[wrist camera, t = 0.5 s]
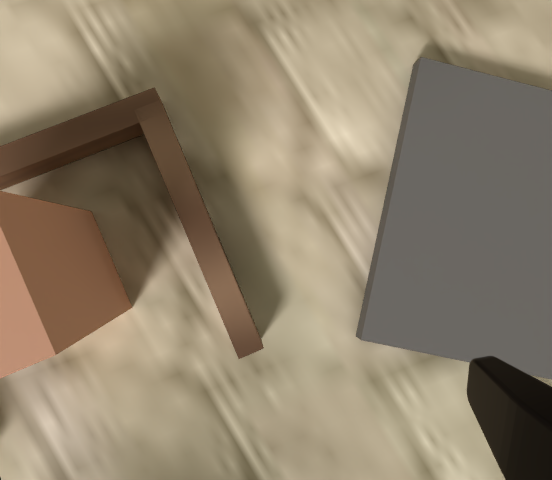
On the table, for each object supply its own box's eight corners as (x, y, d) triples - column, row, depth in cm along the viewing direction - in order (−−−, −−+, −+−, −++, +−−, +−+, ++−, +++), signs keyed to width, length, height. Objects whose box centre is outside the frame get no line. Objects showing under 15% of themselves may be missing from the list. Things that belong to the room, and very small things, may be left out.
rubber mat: (613, 389, 25) (628, 395, 24) (355, 335, 24) (360, 340, 23) (664, 128, 26) (682, 124, 25) (413, 64, 25) (421, 57, 24)
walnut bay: (261, 339, 24) (263, 348, 22) (-40, 470, 23) (-67, 492, 21) (161, 100, 24) (154, 87, 22) (-150, 220, 22) (-188, 218, 20)
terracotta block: (132, 307, 23) (55, 354, 13) (32, 349, 23) (-123, 430, 13) (91, 211, 23) (-17, 187, 13) (-10, 251, 23) (-199, 258, 13)
